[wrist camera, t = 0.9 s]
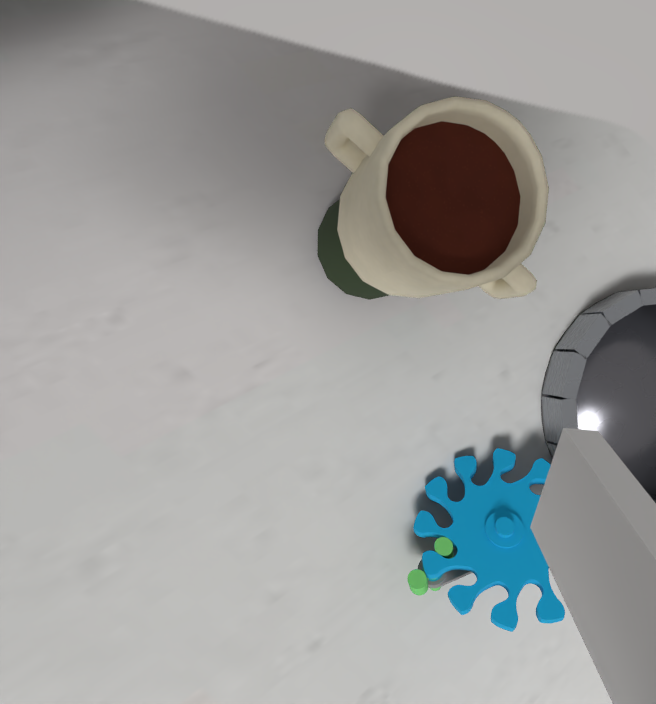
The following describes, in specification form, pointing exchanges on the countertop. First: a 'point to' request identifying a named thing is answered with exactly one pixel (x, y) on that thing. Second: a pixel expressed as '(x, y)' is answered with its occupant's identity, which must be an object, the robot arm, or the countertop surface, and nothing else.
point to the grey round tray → (608, 381)
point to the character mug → (435, 203)
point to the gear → (487, 541)
